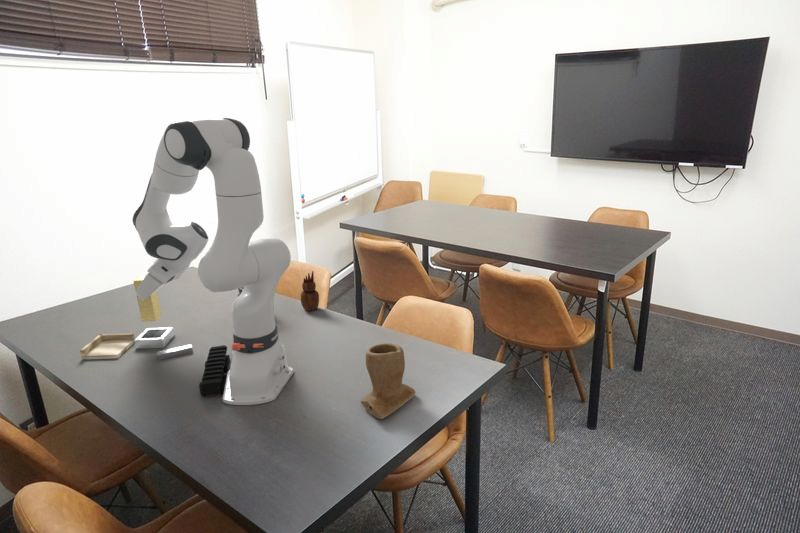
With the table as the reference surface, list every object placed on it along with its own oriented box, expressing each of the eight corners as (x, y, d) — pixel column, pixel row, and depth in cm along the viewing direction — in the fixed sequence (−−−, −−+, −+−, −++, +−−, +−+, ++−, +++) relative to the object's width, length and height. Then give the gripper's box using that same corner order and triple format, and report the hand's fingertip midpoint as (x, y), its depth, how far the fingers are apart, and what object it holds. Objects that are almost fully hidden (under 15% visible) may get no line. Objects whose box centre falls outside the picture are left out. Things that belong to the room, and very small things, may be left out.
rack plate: (118, 358, 151) (116, 349, 150) (82, 359, 151) (80, 350, 150) (135, 341, 161) (133, 333, 160) (101, 342, 161) (99, 334, 160)
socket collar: (163, 347, 157) (162, 339, 156) (136, 348, 157) (134, 340, 156) (174, 335, 165) (173, 327, 164) (148, 336, 165) (147, 328, 164)
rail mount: (208, 362, 148) (205, 347, 146) (230, 359, 149) (228, 344, 148) (198, 401, 128) (195, 385, 127) (224, 397, 130) (221, 381, 128)
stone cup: (387, 381, 135) (386, 333, 130) (421, 396, 128) (421, 346, 123) (348, 407, 124) (345, 355, 119) (383, 425, 117) (381, 370, 112)
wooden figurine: (321, 306, 186) (318, 269, 182) (317, 312, 181) (314, 274, 176) (304, 305, 187) (301, 269, 182) (299, 312, 182) (296, 274, 177)
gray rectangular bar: (192, 349, 156) (191, 344, 156) (193, 352, 154) (192, 347, 153) (158, 357, 152) (156, 351, 151) (158, 360, 150) (157, 355, 149)
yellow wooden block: (155, 321, 156) (147, 280, 152) (142, 321, 156) (133, 280, 152) (161, 315, 160) (153, 275, 156) (148, 316, 160) (140, 276, 156)
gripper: (175, 250, 162) (152, 279, 165) (147, 269, 143) (120, 301, 145) (191, 262, 163) (167, 290, 166) (165, 282, 144) (138, 314, 147)
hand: (145, 296), depth 156 cm, fingers closed on yellow wooden block, 4 cm apart
